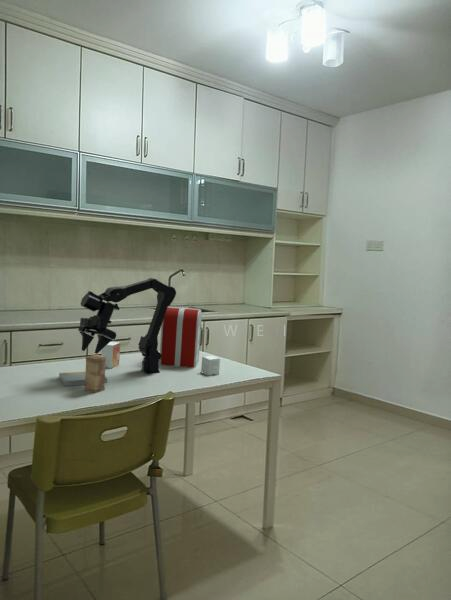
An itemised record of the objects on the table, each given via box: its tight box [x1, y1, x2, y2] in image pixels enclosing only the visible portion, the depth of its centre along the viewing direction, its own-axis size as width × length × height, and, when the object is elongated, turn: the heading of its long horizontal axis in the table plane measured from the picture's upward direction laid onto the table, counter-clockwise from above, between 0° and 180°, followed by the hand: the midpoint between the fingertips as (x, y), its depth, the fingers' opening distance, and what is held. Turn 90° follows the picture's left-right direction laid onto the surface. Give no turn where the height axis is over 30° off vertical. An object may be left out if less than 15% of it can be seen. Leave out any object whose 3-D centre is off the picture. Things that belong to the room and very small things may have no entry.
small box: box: [101, 341, 121, 369], centre depth 208 cm, size 8×6×10 cm
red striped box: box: [159, 306, 203, 369], centre depth 223 cm, size 16×18×27 cm
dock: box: [58, 370, 108, 387], centre depth 184 cm, size 16×12×2 cm
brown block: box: [84, 353, 106, 394], centre depth 172 cm, size 5×5×13 cm
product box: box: [200, 355, 221, 376], centre depth 208 cm, size 6×6×7 cm
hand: (89, 352), depth 183 cm, fingers open, 9 cm apart
